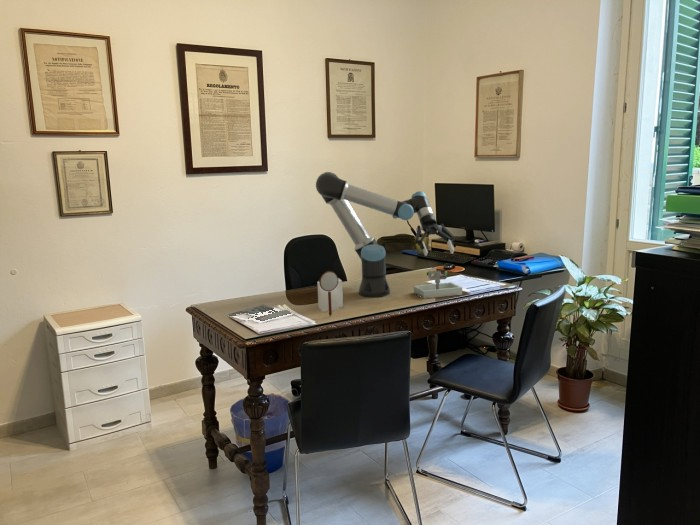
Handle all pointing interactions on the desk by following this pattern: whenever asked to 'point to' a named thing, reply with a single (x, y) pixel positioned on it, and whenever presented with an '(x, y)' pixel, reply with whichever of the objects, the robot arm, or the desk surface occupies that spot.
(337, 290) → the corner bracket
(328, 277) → the magnifying glass
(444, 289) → the keeper cradle
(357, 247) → the robot arm
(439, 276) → the mechanical component
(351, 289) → the desk surface
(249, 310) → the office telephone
